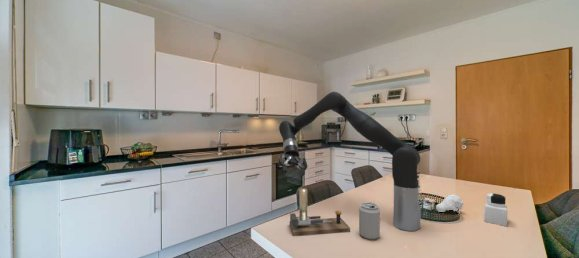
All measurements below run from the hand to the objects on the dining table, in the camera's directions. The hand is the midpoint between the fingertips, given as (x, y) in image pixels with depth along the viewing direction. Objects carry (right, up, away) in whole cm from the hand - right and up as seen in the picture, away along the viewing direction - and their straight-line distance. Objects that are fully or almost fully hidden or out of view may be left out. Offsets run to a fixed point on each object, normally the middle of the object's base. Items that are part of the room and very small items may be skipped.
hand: (294, 174), depth 102 cm
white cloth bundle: (+75, -20, +5) cm, 78 cm away
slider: (+6, -17, -12) cm, 22 cm away
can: (+28, -20, -17) cm, 39 cm away
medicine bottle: (+88, -20, -5) cm, 91 cm away
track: (+10, -20, -11) cm, 25 cm away
